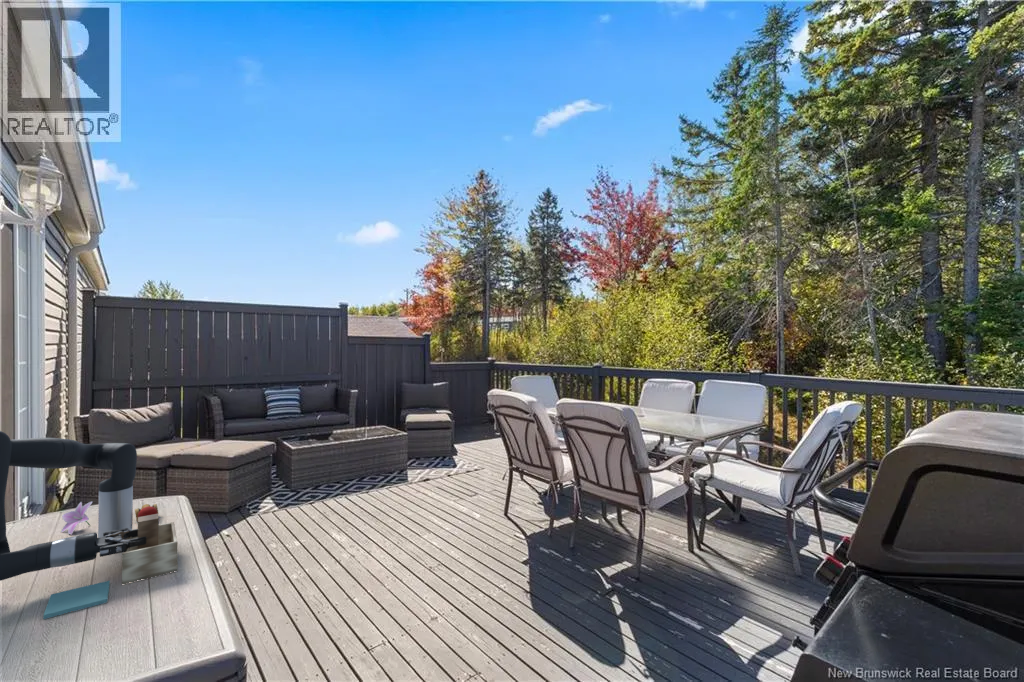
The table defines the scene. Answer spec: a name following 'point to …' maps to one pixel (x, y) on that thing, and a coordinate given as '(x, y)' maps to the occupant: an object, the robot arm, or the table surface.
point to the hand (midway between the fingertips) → (146, 535)
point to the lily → (75, 517)
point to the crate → (151, 557)
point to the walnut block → (148, 530)
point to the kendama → (146, 510)
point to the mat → (77, 599)
